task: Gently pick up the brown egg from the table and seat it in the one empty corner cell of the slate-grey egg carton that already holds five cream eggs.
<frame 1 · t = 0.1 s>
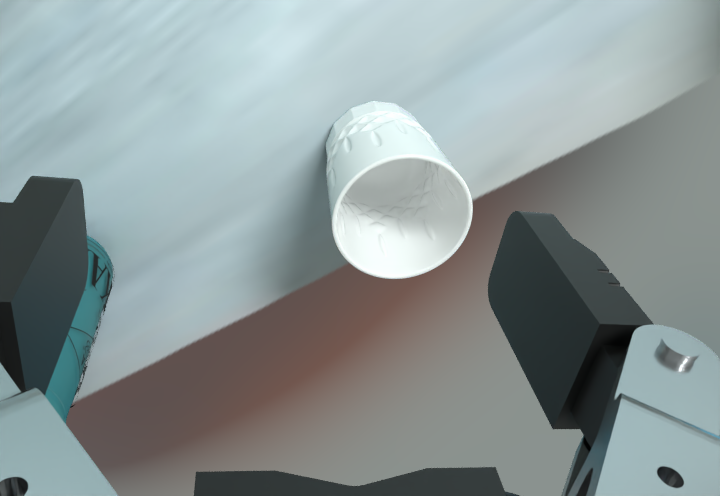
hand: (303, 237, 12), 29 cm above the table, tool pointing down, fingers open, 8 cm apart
beverage bottle: (72, 251, 44), on the table
white cup: (374, 146, 43), on the table
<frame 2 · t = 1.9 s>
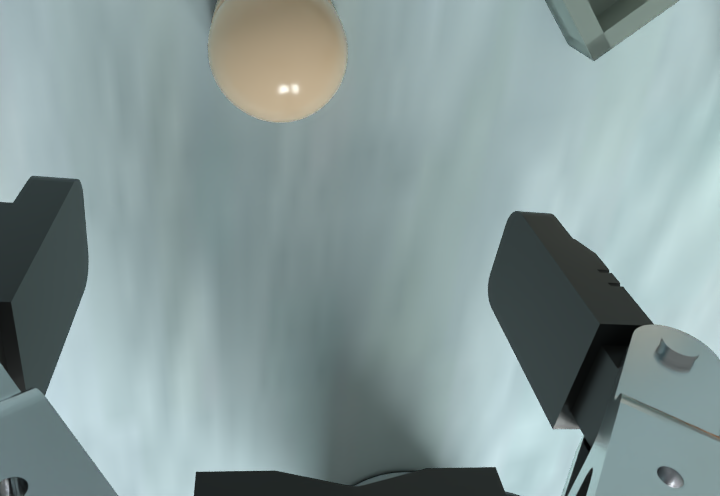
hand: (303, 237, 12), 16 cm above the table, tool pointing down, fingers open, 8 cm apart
brown egg: (275, 29, 26), on the table
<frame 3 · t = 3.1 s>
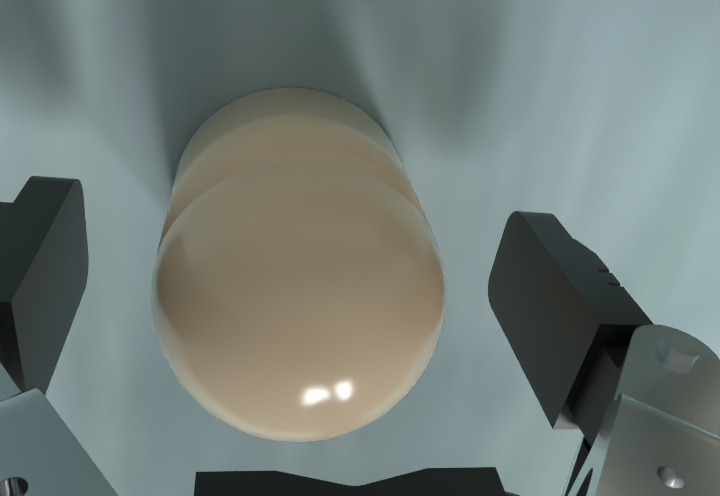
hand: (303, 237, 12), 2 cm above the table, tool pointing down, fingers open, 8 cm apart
brown egg: (292, 197, 14), on the table
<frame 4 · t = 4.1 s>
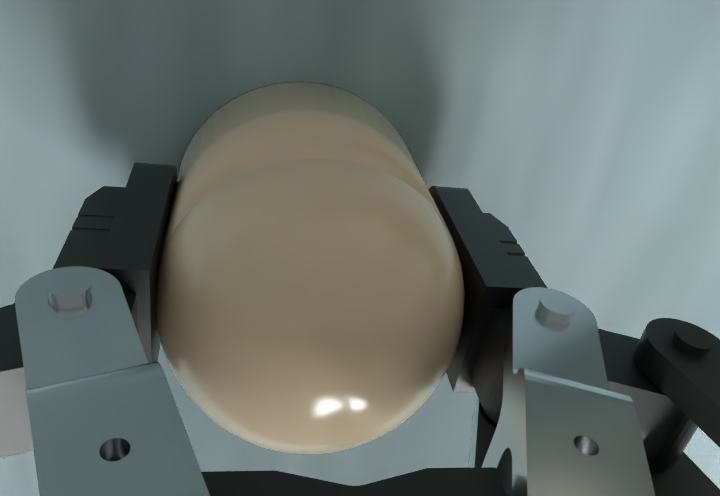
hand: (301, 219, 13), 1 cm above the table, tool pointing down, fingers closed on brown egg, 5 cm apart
brown egg: (299, 197, 13), on the table, touching gripper
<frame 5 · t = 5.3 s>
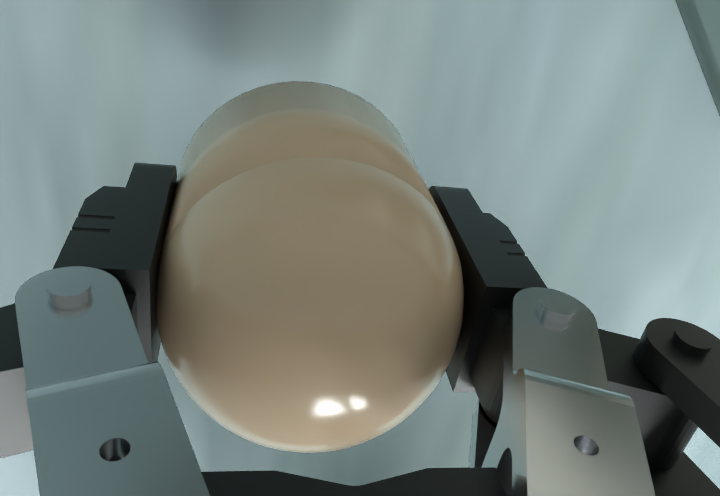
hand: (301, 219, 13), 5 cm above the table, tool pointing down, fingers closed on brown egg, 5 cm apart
brown egg: (299, 196, 13), point 4 cm above the table, touching gripper
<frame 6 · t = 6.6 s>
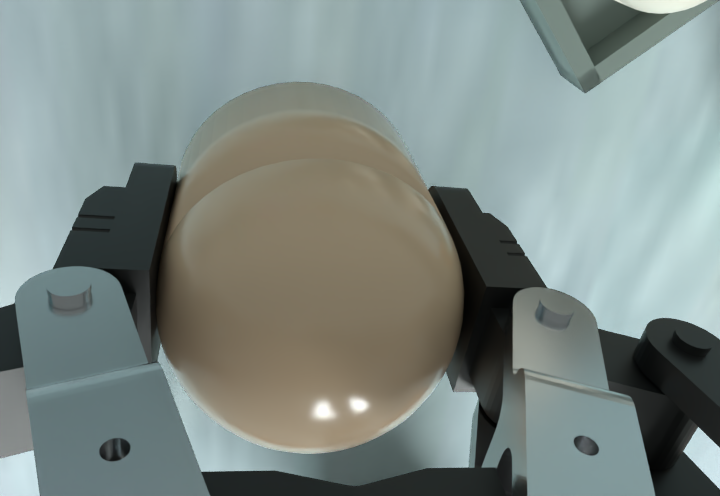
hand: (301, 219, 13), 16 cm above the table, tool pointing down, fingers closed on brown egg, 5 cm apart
brown egg: (298, 197, 13), point 15 cm above the table, touching gripper
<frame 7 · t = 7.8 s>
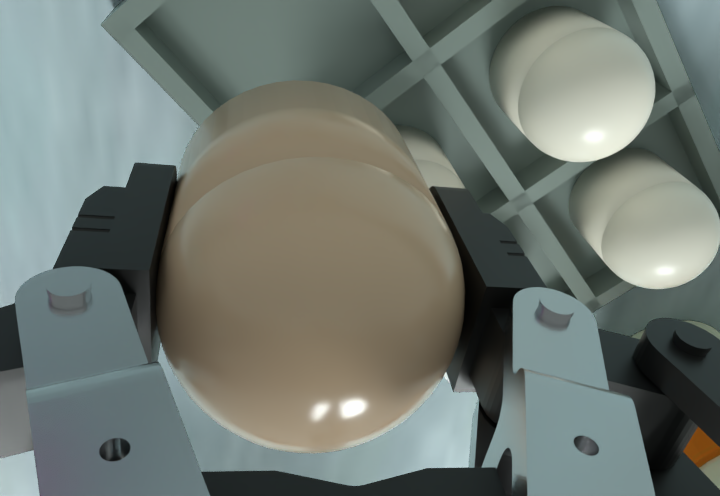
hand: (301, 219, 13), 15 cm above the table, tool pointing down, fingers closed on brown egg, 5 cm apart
brown egg: (299, 196, 13), point 14 cm above the table, touching gripper
egg carton: (461, 116, 29), on the table
reusable coffee cup: (656, 373, 40), on the table
when the fingers open (3 cm above the table, at t = 10.8 s): brown egg drops 1 cm, resting on egg carton.
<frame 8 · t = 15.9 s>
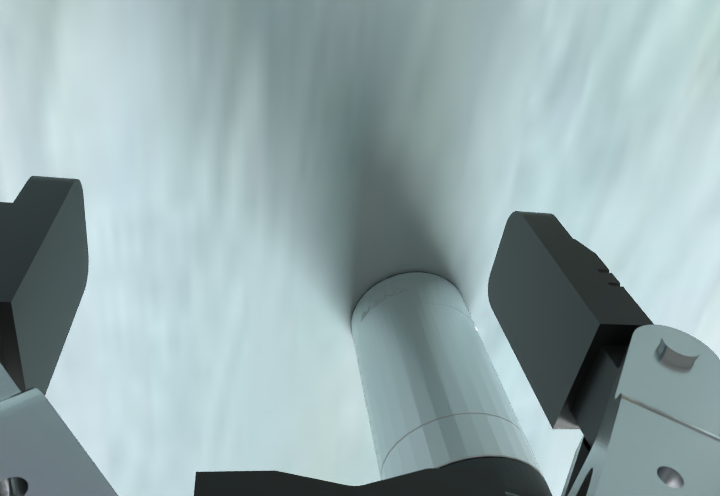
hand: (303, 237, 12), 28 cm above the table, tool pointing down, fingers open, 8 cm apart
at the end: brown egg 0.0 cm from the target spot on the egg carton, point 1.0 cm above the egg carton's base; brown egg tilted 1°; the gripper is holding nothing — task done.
